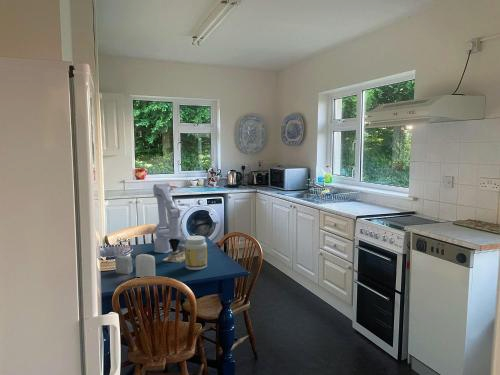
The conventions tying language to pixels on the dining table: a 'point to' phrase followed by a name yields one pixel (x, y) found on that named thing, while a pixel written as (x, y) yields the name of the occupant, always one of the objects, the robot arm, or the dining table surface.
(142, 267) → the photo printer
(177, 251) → the plug
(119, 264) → the medicine box
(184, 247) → the grey ball
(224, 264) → the dining table surface
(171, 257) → the board
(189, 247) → the supplement tub
